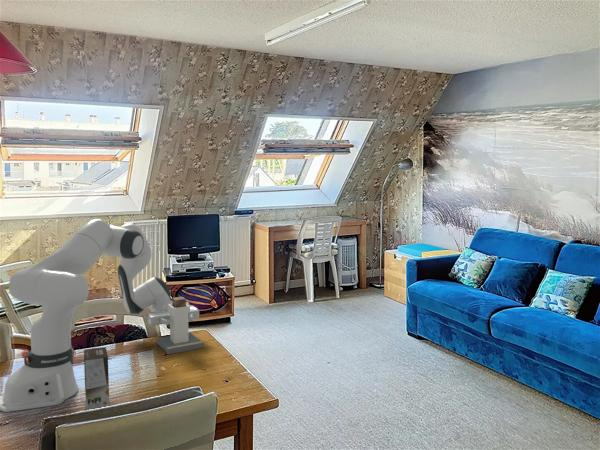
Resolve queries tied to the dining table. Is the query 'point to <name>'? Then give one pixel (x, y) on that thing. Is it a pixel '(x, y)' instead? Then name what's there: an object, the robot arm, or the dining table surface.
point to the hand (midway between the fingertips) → (180, 321)
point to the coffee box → (96, 378)
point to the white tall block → (179, 323)
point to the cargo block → (178, 302)
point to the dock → (179, 344)
